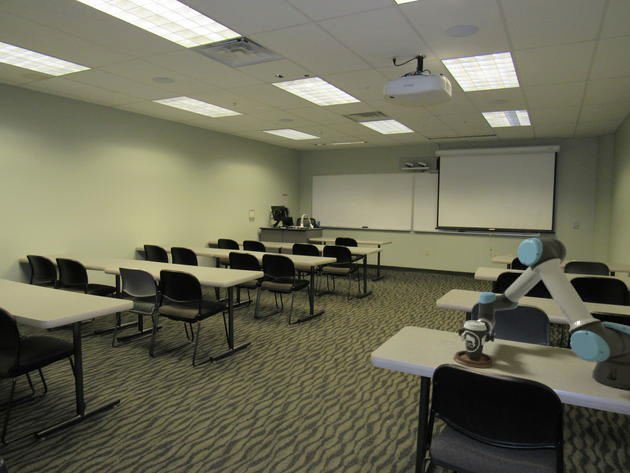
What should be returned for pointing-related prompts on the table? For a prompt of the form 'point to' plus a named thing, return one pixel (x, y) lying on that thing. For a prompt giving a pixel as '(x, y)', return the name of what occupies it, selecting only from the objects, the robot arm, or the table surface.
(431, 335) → the table surface
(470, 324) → the coffee cup
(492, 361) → the coaster
